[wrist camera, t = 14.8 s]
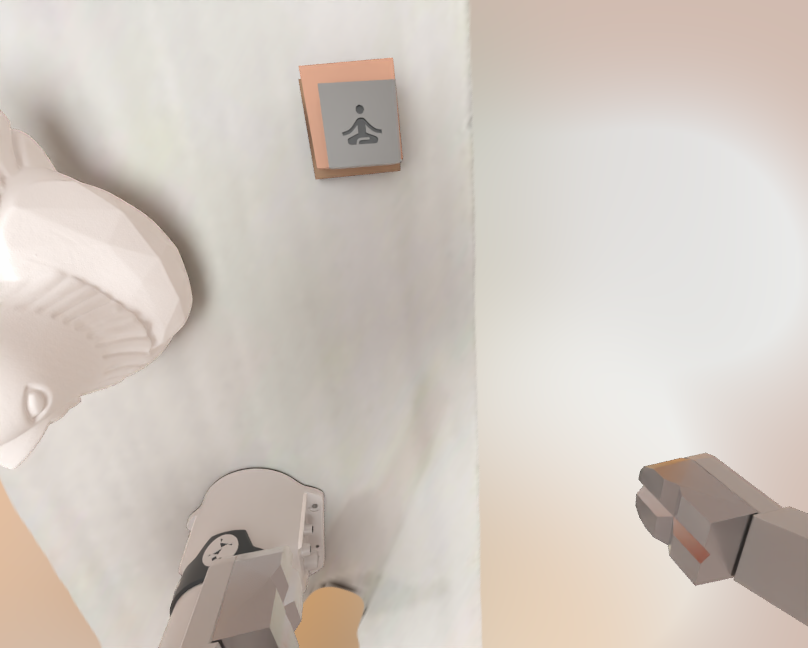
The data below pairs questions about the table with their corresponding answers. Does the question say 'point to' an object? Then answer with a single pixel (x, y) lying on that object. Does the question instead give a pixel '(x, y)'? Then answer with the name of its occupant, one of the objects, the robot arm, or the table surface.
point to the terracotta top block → (331, 74)
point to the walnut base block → (346, 171)
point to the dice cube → (360, 123)
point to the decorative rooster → (74, 292)
